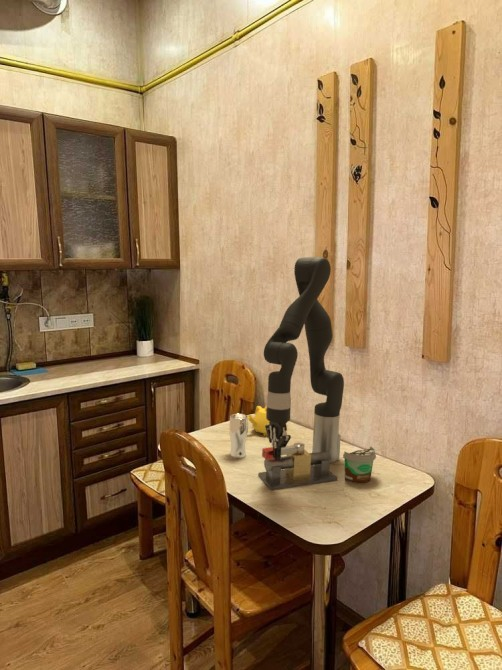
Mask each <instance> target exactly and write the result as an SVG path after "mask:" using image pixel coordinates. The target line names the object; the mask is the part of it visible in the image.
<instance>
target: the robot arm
mask: <svg viewBox="0 0 502 670" xmlns="http://www.w3.org/2000/svg"><path fill="white" fill-rule="evenodd" d="M293 269H294V271H293V272H294V278H295V284H296V286H297V291H298V295H299V296H298V297H297V298H296V299H295V300H294V301H293V302H292V303H291V304H290V305H289V306H288V308H287V309H286V311H285V312H284V314H283V317H282V319H281V322H280V324H279V327H278V328H277V329H276V330H275V331H274V332H273V334H272V335H271V337H270V338H269V339H268V340H267V342H266V343H265V345H264V348H263V358H264V360H265V361H266V362H267V363H268V364H273V365H279V366H280V369H279V370H277V371H271V372H270V373H269V375H268V378H267V379H268V380H267V382H268V383H267V395H266V406H267V409H266V419H267V420H268V421H269V425H266V426H265V428H266V431H267V435H268V436H267V438H268V441H269V444H271V447H273V458H274V459H275V460H277V459H280V458H281V457H282V456H281V448H284V447H286V446H288V443H289V441H290V440H291V438H292V436H291V434H288V433H287V432H288V431H287V430H288V427H287V423H288V422H289V421H290V420H291V408H292V407H291V405H292V404H291V403H292V398H291V386H292V384H291V383H292V377H293V373H294V369H295V367H296V363H297V359H298V354H299V353H298V349H297V347H296V345H295V344H293V343H291V341H295V340H297V339H299V338H300V335H301V333H302V331H303V328H304V331H305V337H306V344H307V349H308V358H309V376H310V386H311V388H312V390H313V392H314V393H316V394H318V395H322V396H326V399H325V402H319V403H317V404H315V405H314V410H313V432H312V433H313V434H312V452H311V453H316V452H324V451H329V452H330V454H331V458H332V460H331V463H334V462H337V461H338V460H340V456H341V455H340V453H341V440H342V439H341V437H342V436H341V434H340V418H341V417H340V413H341V409H342V406H343V405H342V404H343V397H344V395H343V394H344V388H345V386H344V385H345V380H344V376H343V375H342V374H341V372H339V371H334V370H333V371H332V370H330V369H329V370H328V369H326V366H325V355H326V353H327V351H328V350H329V347H330V345H331V343H332V339H333V328H332V327H333V325H332V320H331V318H330V315H329V313H328V312H327V310H326V309H325V308H324V307H323V305H322V303H320V301H319V299H318V298H319V296H320V295H321V293H322V292H323V290H324V289H325V287H326V286H327V283H328V281H329V280H330V276H331V271H332V269H331V264H330V261H329V259H327V257H322V256H312V257H311V256H310V257H309V256H308V257H306V256H305V257H299V258H298V259H297V260H296V261H295V263H294V268H293Z"/></svg>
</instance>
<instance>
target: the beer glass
mask: <svg viewBox="0 0 502 670" xmlns="http://www.w3.org/2000/svg"><path fill="white" fill-rule="evenodd" d="M228 427H229V428H228V430H229V431H228V432H229V437H230V452H229V457H231V458H234V459H242V458H245V457H246V456H247V451H246V443H247V437H248V431H249V419H248V415H247V414H244V413H233V414H231V415H230V416H229V423H228Z"/></svg>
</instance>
